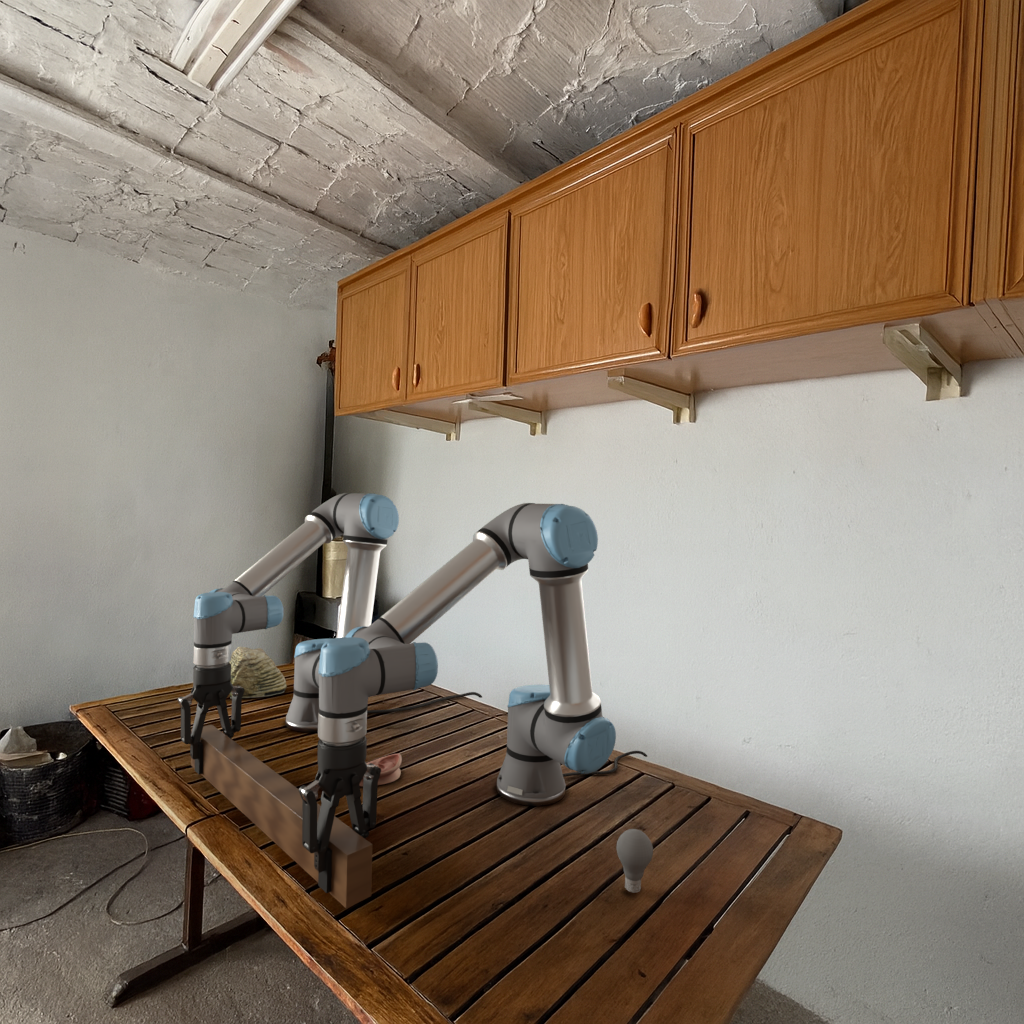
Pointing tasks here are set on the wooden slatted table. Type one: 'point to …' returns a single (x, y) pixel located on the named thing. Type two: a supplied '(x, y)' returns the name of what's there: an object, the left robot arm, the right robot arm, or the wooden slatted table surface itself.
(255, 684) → the fossil
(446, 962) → the wooden slatted table surface
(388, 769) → the anatomical model
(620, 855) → the light bulb
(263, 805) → the bar
